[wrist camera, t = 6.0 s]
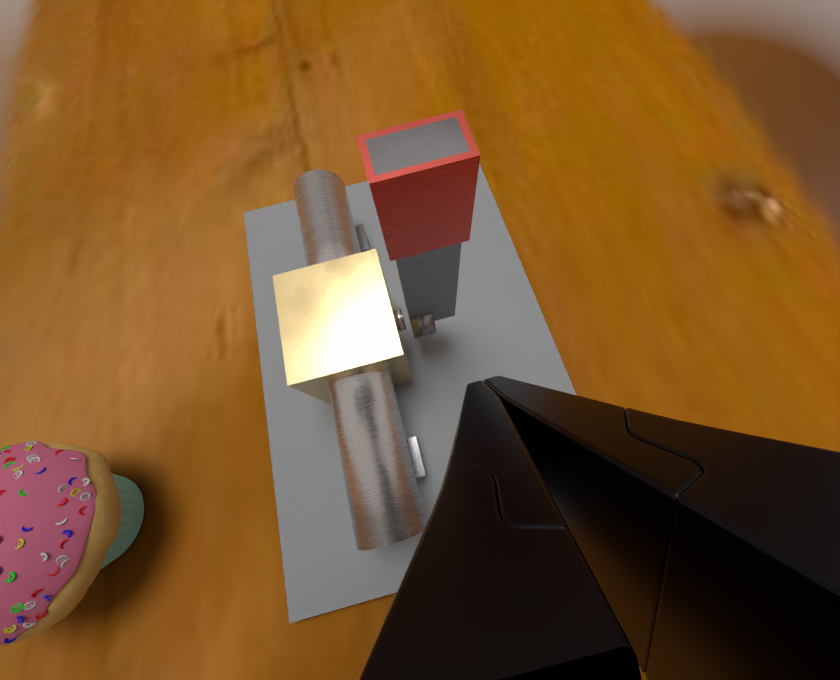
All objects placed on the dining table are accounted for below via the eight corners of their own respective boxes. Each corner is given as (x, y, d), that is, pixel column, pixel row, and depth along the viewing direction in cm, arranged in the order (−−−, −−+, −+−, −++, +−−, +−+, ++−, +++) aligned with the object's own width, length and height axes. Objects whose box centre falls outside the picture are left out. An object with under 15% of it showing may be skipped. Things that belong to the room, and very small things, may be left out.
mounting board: (622, 521, 18) (630, 524, 17) (296, 615, 18) (289, 623, 17) (474, 161, 27) (475, 153, 26) (249, 219, 26) (243, 212, 25)
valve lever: (460, 332, 19) (485, 167, 8) (412, 345, 19) (372, 196, 8) (448, 295, 20) (456, 99, 9) (402, 307, 20) (353, 125, 9)
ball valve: (454, 507, 18) (460, 531, 13) (353, 536, 18) (312, 574, 12) (375, 212, 25) (355, 140, 19) (300, 231, 24) (257, 165, 19)
